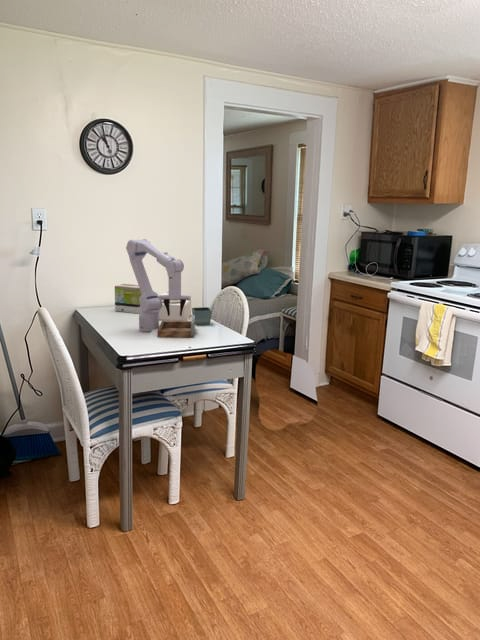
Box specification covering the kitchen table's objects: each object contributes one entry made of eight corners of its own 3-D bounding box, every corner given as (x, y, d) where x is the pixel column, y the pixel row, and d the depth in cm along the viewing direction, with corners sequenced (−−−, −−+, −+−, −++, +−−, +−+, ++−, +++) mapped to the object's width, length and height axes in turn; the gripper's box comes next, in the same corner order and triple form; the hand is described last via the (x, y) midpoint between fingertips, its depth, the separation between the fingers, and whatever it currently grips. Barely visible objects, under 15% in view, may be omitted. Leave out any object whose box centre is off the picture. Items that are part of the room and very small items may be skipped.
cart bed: (157, 340, 225) (157, 330, 224) (161, 330, 245) (161, 320, 244) (193, 341, 226) (193, 331, 225) (194, 330, 246) (195, 321, 245)
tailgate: (190, 336, 227) (190, 323, 226) (192, 327, 244) (192, 315, 243) (195, 336, 227) (195, 323, 226) (196, 327, 244) (196, 315, 243)
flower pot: (194, 328, 249) (194, 310, 247) (191, 324, 258) (191, 307, 256) (211, 328, 252) (212, 310, 250) (208, 324, 260) (208, 307, 258)
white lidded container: (191, 315, 282) (191, 286, 279) (184, 322, 264) (184, 292, 261) (160, 313, 284) (160, 285, 280) (151, 320, 266) (151, 290, 263)
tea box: (114, 311, 285) (113, 285, 282) (123, 308, 294) (122, 283, 291) (138, 313, 281) (138, 287, 278) (146, 310, 290) (146, 285, 287)
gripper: (157, 287, 226) (158, 317, 229) (190, 288, 227) (190, 317, 230) (159, 285, 233) (159, 313, 236) (191, 285, 234) (190, 314, 237)
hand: (174, 315), depth 233 cm, fingers open, 5 cm apart
